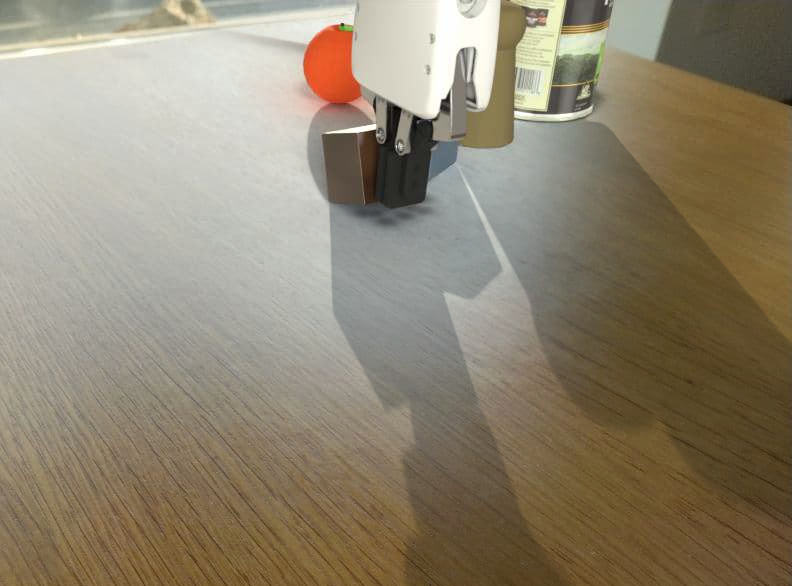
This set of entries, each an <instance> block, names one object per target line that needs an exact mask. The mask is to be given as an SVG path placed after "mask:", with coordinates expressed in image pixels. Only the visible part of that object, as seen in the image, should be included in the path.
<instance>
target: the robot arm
mask: <svg viewBox="0 0 792 586" xmlns="http://www.w3.org/2000/svg"><path fill="white" fill-rule="evenodd" d="M500 4H501V0H356V2H355V10H354V19H353V26H354V27H353V38H352V74H353V76H354V78H355V79H356V81H357V82H358V83H359V84H360V85H361V86H360V92H361V94H362V96H361V97H363V99H364V100H366V102H367V103H368V104H369V105H370V106H371V107H372V108H373V112H374V115H375V124H376V138H377V141H378V142H379V143H380V144H384V145H383V146H380V150H379V160H378V170H377V180H376V190H375V199H376V200H377V201H378V203H380V204H383V206H384V207H386V208H387V209H389V210H393V209H397V208H403V207H408V206H414V205H418V204H422V203H424V201H425V200H426V197H427V196H426V195H427V189H428V182H429V180H428V175H429V167H430V160H431V152H432V150H436V149H437V148H438V146H439V142H440V141H442V142H450V141H456V140H462V139H464V138H465V137H466V133H467V110H468V111H470V112H480V111H483V110H485V109H486V108H487V106H488V103H489V100H490V96H491V91H492V85H493V78H494V70H495V62H496V53H497V44H498V33H499V21H500ZM426 119H427V120H426ZM419 120H422V121H420V122H419Z"/></svg>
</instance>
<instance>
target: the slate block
mask: <svg viewBox="0 0 792 586" xmlns="http://www.w3.org/2000/svg"><path fill="white" fill-rule="evenodd" d="M426 120H427V119H426ZM420 121H422V120H419V122H420ZM458 143H459V140H456V141H450V142H442V141H440V142H439V146H438V148H437V149H436V150H432V152H431V160H430V167H429V175H428V181H430V180H432V179H434V178H435V177H436V176H437V175H439V174H440V173H443V171H445V170H446V169H448V168H449V167H450V166H451V165H453V164H454V163H456V162H457V158H458V150H459V144H458Z"/></svg>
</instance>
